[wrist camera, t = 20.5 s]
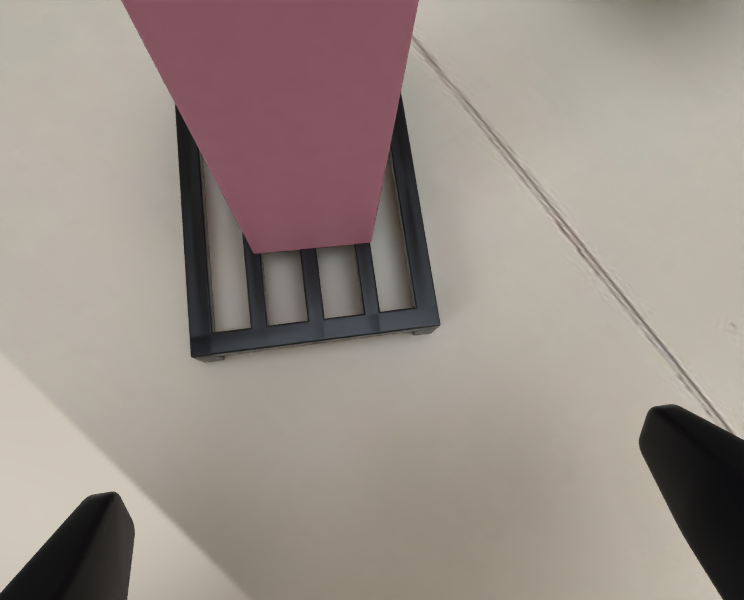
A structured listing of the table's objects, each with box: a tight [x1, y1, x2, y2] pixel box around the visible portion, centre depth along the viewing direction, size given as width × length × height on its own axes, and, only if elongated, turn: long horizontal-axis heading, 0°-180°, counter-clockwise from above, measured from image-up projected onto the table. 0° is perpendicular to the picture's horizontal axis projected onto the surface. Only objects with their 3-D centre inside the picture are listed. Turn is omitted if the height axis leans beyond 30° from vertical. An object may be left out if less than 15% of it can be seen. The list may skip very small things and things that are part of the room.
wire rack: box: [175, 93, 440, 362], centre depth 20 cm, size 12×9×2 cm
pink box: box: [121, 0, 419, 254], centre depth 13 cm, size 5×4×13 cm
